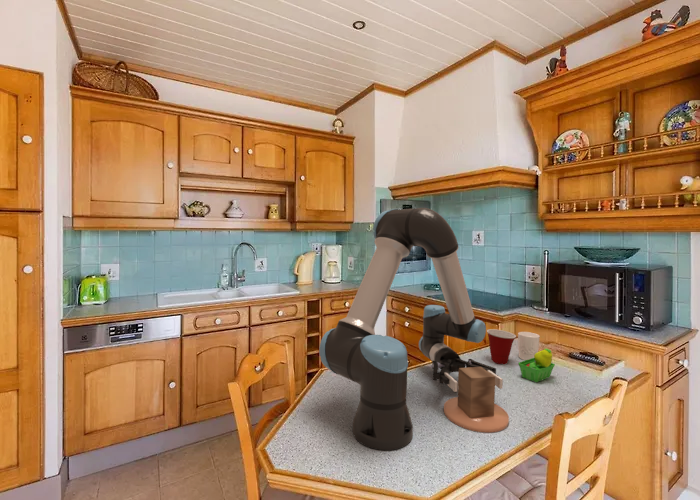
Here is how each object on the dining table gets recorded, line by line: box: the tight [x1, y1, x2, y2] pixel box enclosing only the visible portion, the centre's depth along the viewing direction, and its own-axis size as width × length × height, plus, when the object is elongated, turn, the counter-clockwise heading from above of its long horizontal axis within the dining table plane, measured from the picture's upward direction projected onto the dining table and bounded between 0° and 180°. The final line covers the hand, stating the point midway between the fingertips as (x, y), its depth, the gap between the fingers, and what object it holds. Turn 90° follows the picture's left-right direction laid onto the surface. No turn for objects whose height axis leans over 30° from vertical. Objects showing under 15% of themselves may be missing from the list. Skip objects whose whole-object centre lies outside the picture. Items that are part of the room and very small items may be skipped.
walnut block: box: [457, 367, 496, 418], centre depth 96 cm, size 7×7×11 cm
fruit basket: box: [518, 347, 556, 383], centre depth 122 cm, size 11×9×11 cm
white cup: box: [517, 331, 541, 361], centre depth 141 cm, size 8×8×10 cm
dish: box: [443, 396, 510, 434], centre depth 96 cm, size 17×17×1 cm
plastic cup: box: [486, 328, 517, 365], centre depth 137 cm, size 11×11×12 cm
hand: (479, 385), depth 95 cm, fingers open, 13 cm apart
